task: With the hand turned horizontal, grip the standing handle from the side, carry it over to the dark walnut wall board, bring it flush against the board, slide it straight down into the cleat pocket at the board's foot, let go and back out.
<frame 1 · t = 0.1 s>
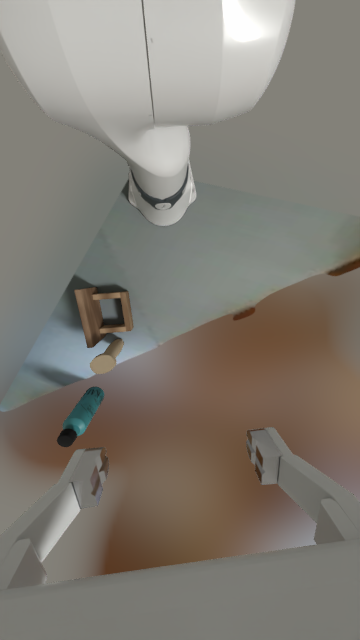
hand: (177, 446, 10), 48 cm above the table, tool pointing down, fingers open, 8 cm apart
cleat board: (113, 311, 56), on the table
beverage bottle: (97, 390, 63), on the table
handle: (119, 342, 59), on the table
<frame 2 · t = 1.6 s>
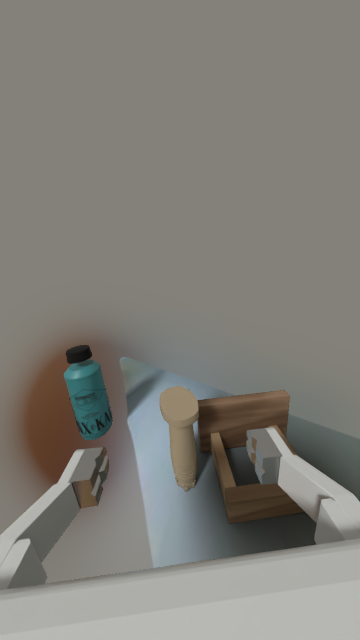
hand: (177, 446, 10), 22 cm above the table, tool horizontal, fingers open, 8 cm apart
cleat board: (253, 470, 28), on the table
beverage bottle: (99, 433, 37), on the table
handle: (186, 480, 27), on the table
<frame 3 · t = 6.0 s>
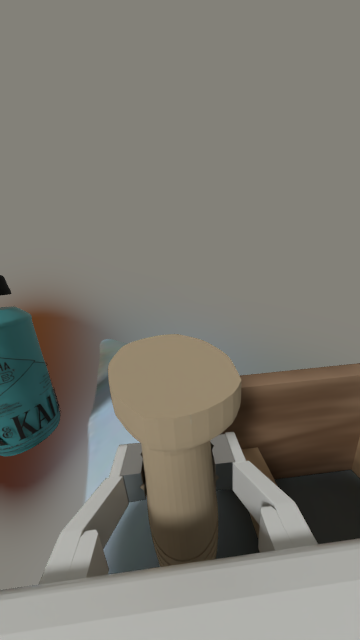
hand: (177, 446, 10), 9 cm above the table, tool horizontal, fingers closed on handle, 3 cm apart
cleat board: (348, 541, 12), on the table
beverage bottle: (35, 442, 21), on the table
handle: (189, 566, 11), on the table, touching gripper
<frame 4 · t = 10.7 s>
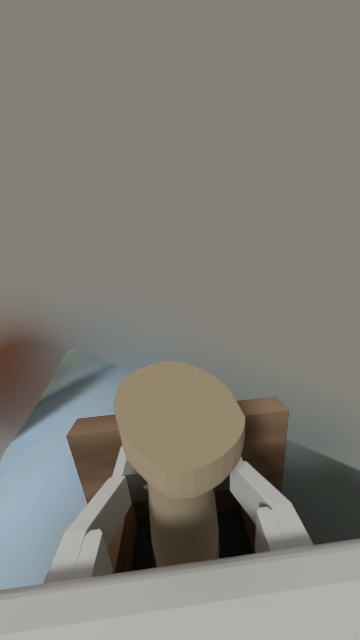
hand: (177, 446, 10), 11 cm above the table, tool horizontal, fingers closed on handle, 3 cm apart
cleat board: (196, 603, 11), on the table
handle: (190, 584, 12), resting in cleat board, touching gripper
when the fingers open (11 cm above the table, at t = 10.7 s): handle stays where it is, resting in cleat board.
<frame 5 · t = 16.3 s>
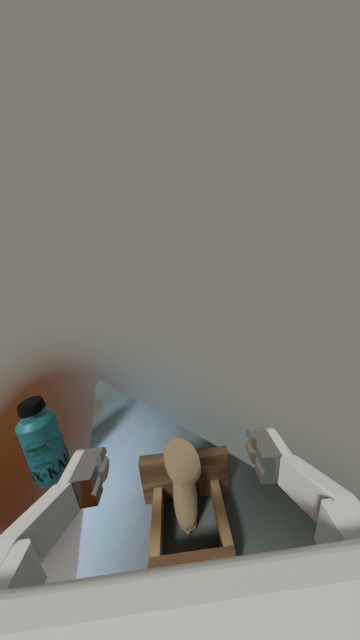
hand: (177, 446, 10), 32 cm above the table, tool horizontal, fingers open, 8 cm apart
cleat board: (190, 528, 29), on the table
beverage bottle: (56, 476, 38), on the table
handle: (187, 523, 30), resting in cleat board
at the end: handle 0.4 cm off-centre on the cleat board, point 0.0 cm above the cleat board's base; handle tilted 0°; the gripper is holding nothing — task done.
